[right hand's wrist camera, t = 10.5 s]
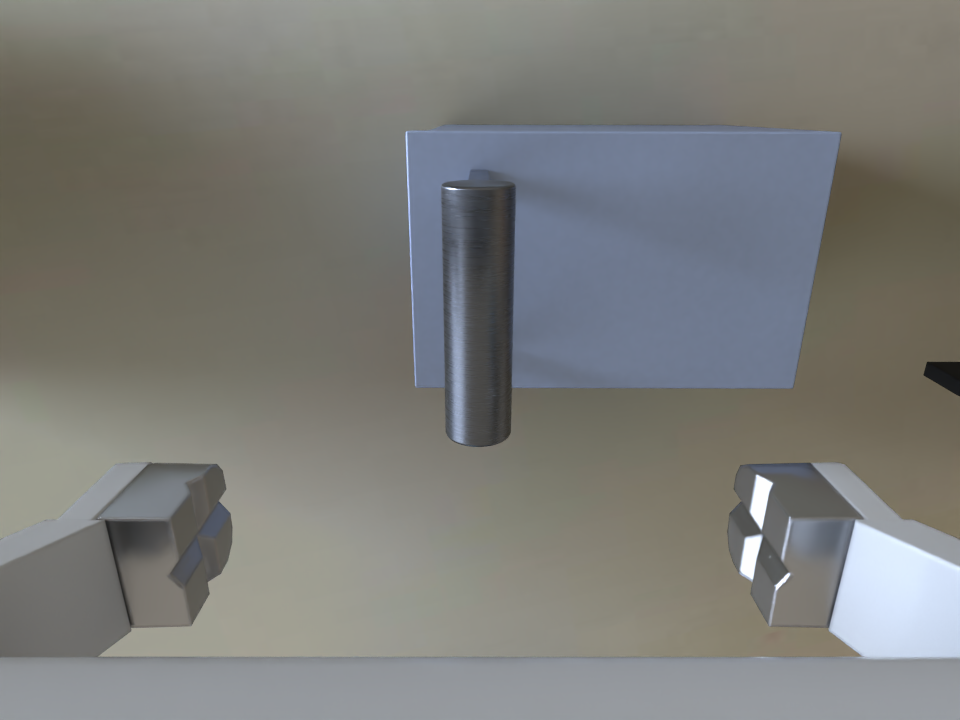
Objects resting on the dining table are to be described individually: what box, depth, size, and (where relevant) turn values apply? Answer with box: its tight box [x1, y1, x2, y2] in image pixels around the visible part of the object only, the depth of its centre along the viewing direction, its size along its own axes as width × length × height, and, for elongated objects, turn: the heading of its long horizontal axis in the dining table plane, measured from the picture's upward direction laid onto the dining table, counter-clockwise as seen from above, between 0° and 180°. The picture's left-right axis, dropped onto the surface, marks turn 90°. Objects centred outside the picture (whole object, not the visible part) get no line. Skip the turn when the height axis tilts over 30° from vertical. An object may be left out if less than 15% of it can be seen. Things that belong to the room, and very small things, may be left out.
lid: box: [406, 131, 842, 447], centre depth 22 cm, size 16×10×8 cm, turn 90°
